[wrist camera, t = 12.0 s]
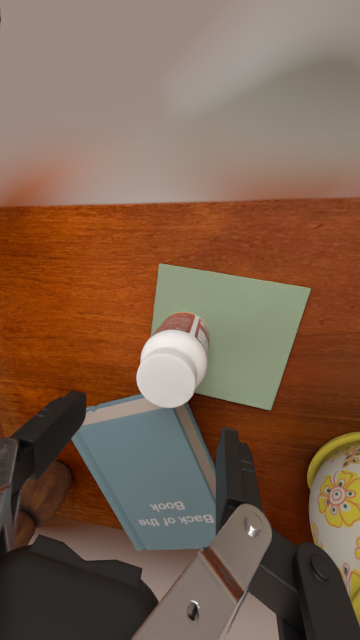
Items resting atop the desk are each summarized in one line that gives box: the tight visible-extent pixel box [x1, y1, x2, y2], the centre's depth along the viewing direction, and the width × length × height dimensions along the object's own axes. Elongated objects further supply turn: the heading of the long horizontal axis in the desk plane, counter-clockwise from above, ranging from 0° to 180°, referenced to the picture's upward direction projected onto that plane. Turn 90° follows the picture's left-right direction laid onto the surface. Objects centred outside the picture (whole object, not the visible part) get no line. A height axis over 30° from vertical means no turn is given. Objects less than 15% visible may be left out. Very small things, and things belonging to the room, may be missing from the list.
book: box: [71, 394, 216, 551], centre depth 31 cm, size 23×16×5 cm
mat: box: [151, 264, 311, 411], centre depth 27 cm, size 16×17×1 cm
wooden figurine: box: [16, 461, 72, 548], centre depth 31 cm, size 7×6×15 cm
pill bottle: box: [136, 312, 209, 408], centre depth 22 cm, size 6×6×11 cm
